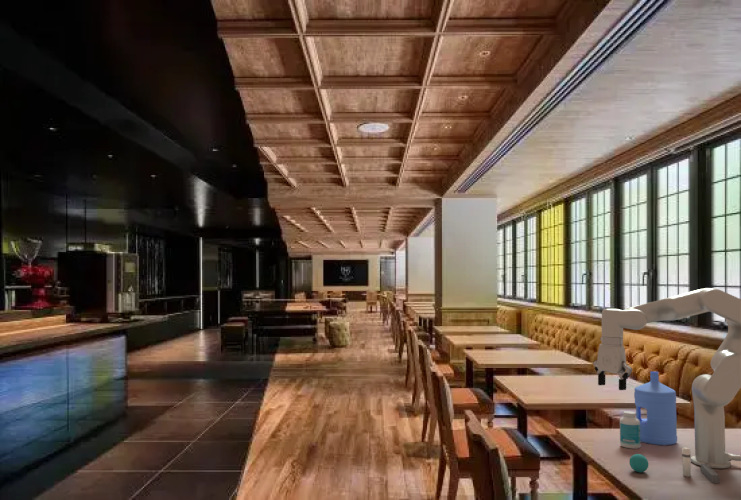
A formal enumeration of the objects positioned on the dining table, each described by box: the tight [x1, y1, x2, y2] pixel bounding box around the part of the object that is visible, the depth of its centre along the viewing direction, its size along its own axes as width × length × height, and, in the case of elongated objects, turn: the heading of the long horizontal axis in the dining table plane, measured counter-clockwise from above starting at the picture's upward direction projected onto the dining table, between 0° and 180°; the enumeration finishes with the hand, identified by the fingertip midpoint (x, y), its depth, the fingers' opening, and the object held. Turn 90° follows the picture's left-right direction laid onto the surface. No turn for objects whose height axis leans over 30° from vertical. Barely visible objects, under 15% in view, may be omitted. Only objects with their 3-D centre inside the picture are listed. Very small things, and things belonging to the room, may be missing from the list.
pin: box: [681, 447, 692, 478], centre depth 199 cm, size 2×2×9 cm
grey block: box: [700, 464, 720, 484], centre depth 198 cm, size 2×12×2 cm, turn 166°
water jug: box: [633, 370, 678, 446], centre depth 243 cm, size 16×16×28 cm
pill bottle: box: [619, 410, 641, 450], centre depth 233 cm, size 8×7×14 cm
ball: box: [629, 453, 649, 473], centre depth 203 cm, size 6×6×6 cm
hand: (611, 387), depth 220 cm, fingers open, 9 cm apart
